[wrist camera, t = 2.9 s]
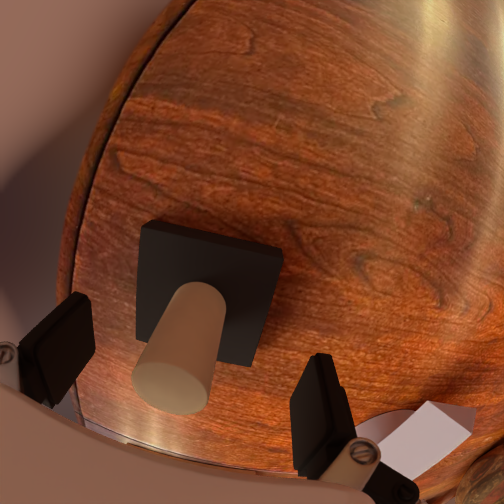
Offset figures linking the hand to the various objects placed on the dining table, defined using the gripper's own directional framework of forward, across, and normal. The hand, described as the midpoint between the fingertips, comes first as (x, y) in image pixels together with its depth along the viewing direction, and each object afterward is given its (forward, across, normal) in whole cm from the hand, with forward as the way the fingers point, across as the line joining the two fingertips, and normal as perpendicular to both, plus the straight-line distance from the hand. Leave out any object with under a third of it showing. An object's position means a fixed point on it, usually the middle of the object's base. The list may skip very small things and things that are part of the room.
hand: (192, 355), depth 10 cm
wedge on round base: (+6, -18, +11) cm, 22 cm away
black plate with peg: (+5, 0, 0) cm, 5 cm away
